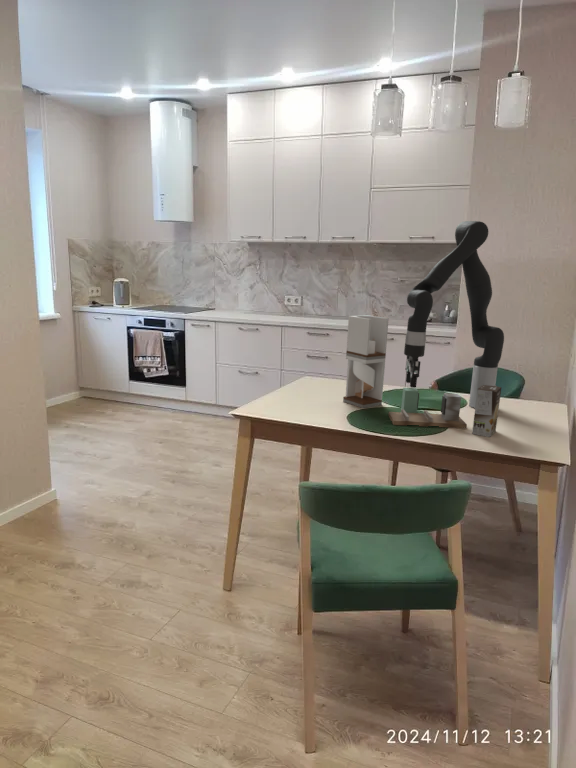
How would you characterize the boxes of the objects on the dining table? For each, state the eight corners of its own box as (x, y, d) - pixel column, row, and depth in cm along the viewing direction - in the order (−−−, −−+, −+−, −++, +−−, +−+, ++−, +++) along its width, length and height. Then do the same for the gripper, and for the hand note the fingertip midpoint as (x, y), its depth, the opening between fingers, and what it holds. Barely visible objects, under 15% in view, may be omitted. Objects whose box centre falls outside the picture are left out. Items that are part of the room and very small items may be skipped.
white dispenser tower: (343, 401, 229) (348, 316, 221) (361, 398, 235) (368, 315, 227) (362, 408, 220) (369, 319, 212) (381, 404, 226) (388, 318, 218)
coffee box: (490, 437, 189) (496, 391, 186) (471, 433, 192) (477, 388, 189) (496, 431, 197) (501, 386, 193) (477, 427, 200) (482, 384, 196)
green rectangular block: (415, 410, 220) (417, 388, 218) (417, 413, 215) (419, 391, 213) (401, 409, 220) (403, 387, 218) (403, 413, 215) (405, 390, 213)
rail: (457, 418, 210) (460, 391, 208) (466, 428, 199) (469, 399, 196) (388, 415, 211) (390, 388, 208) (393, 424, 199) (395, 396, 197)
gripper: (429, 346, 204) (424, 389, 208) (421, 341, 218) (416, 381, 222) (408, 345, 204) (404, 388, 208) (401, 340, 218) (397, 380, 222)
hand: (410, 384), depth 215 cm, fingers open, 8 cm apart
